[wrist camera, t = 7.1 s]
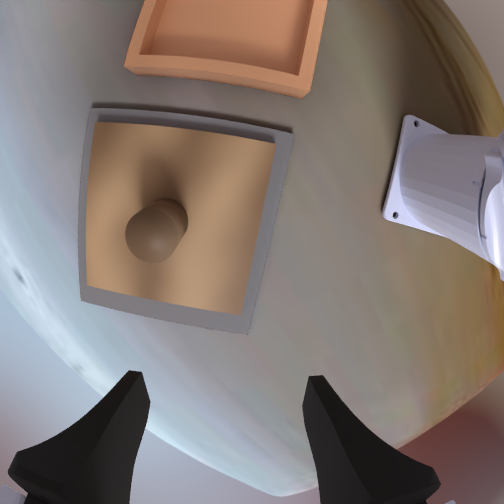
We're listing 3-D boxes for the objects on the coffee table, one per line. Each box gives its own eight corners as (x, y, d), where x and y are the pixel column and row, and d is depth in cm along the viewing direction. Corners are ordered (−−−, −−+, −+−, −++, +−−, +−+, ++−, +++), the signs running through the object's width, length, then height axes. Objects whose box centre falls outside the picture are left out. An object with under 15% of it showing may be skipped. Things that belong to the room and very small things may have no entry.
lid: (275, 144, 18) (284, 143, 14) (240, 310, 21) (241, 344, 18) (99, 122, 16) (68, 119, 12) (90, 282, 20) (66, 308, 16)
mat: (293, 134, 18) (294, 133, 17) (247, 331, 23) (248, 334, 22) (92, 108, 16) (90, 107, 16) (83, 298, 21) (81, 300, 21)
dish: (324, -23, 13) (334, -39, 11) (300, 98, 17) (309, 91, 14) (178, -43, 12) (172, -60, 10) (137, 75, 16) (123, 66, 13)
